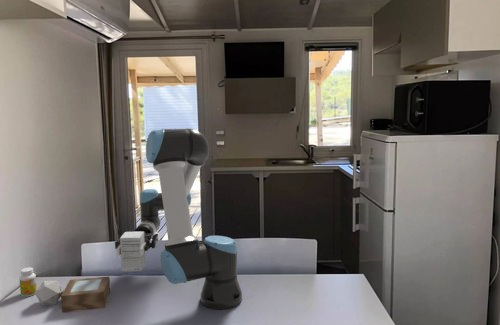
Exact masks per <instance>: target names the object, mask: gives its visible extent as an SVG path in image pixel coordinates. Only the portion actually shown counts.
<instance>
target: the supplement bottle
mask: <svg viewBox="0 0 500 325" xmlns="http://www.w3.org/2000/svg"><path fill="white" fill-rule="evenodd" d="M20 274H21V275H20V276H19V280H18V281H19V288H20V289H19V290H20V296H21V297H23V298H26V297H32V296H35V292H36V291H37V290H38V288H37V277H36V276H37V275H36V273H34V267H31V266H30V267H23V268H21V270H20Z"/></svg>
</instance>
